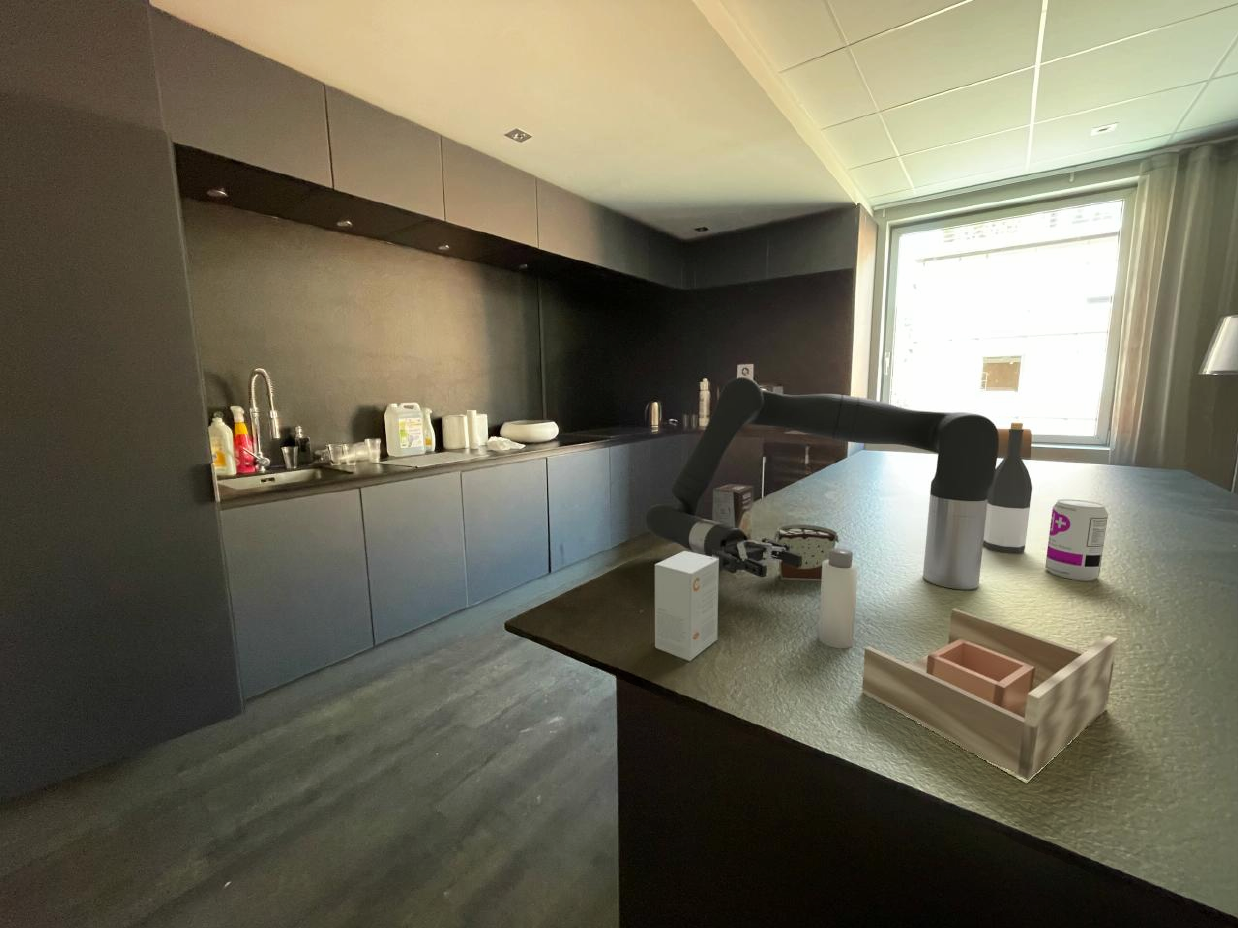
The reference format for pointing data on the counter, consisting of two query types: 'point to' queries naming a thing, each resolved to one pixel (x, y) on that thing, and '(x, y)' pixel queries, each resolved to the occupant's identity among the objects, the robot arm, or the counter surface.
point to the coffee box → (734, 507)
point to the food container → (806, 549)
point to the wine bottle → (1009, 500)
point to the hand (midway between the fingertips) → (783, 566)
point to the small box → (686, 604)
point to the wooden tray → (997, 691)
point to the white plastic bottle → (838, 599)
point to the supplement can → (1076, 539)
